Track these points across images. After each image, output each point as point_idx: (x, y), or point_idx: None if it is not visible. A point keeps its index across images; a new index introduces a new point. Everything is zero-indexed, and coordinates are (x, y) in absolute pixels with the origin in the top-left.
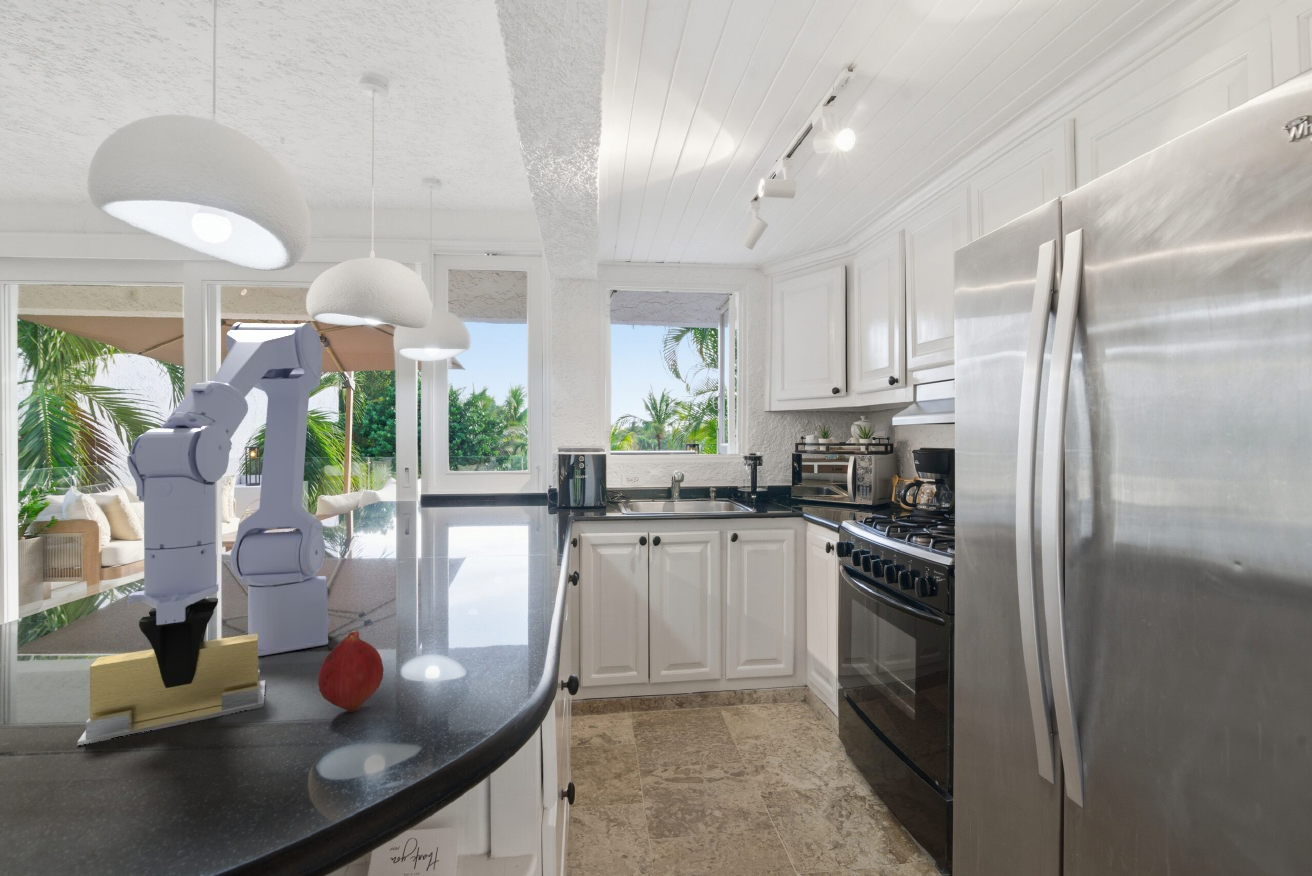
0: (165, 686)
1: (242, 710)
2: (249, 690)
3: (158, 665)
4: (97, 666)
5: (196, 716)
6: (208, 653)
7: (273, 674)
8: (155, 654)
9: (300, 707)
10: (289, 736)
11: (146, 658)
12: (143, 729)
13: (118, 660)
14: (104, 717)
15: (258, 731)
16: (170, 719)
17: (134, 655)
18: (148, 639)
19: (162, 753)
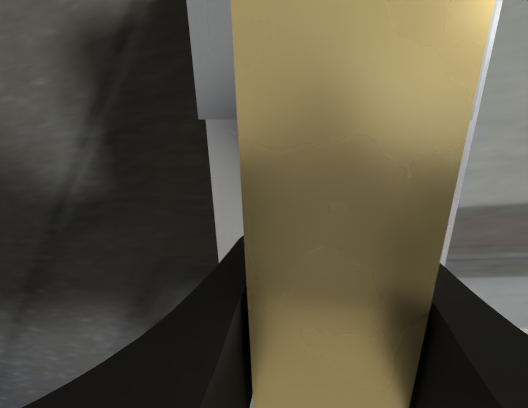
0: (240, 238)
1: None
2: None
3: (203, 280)
4: (237, 16)
5: (220, 251)
6: None
7: None
8: (169, 315)
9: None
10: (37, 377)
11: (249, 255)
12: (209, 138)
13: (281, 129)
14: (208, 42)
15: (85, 342)
16: (238, 197)
17: (352, 197)
18: (65, 384)
19: (40, 194)
